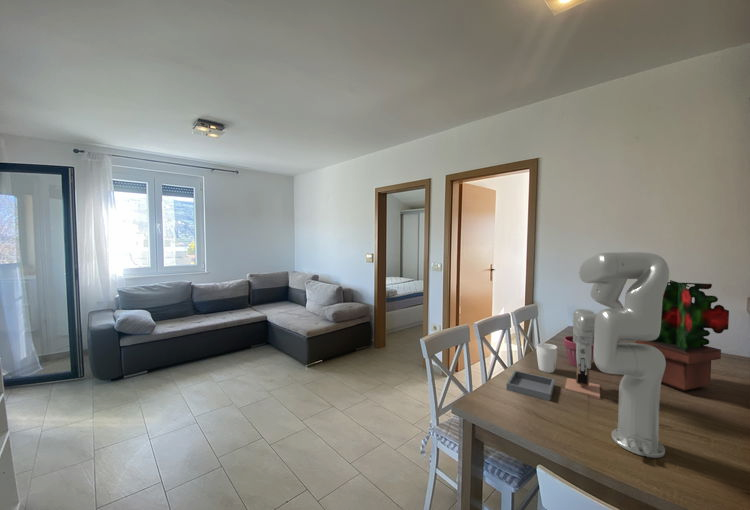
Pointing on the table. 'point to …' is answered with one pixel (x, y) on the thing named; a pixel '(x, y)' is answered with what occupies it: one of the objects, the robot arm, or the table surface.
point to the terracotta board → (583, 388)
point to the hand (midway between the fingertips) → (582, 380)
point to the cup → (546, 357)
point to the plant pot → (573, 350)
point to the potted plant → (688, 335)
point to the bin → (531, 385)
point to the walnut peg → (587, 376)
